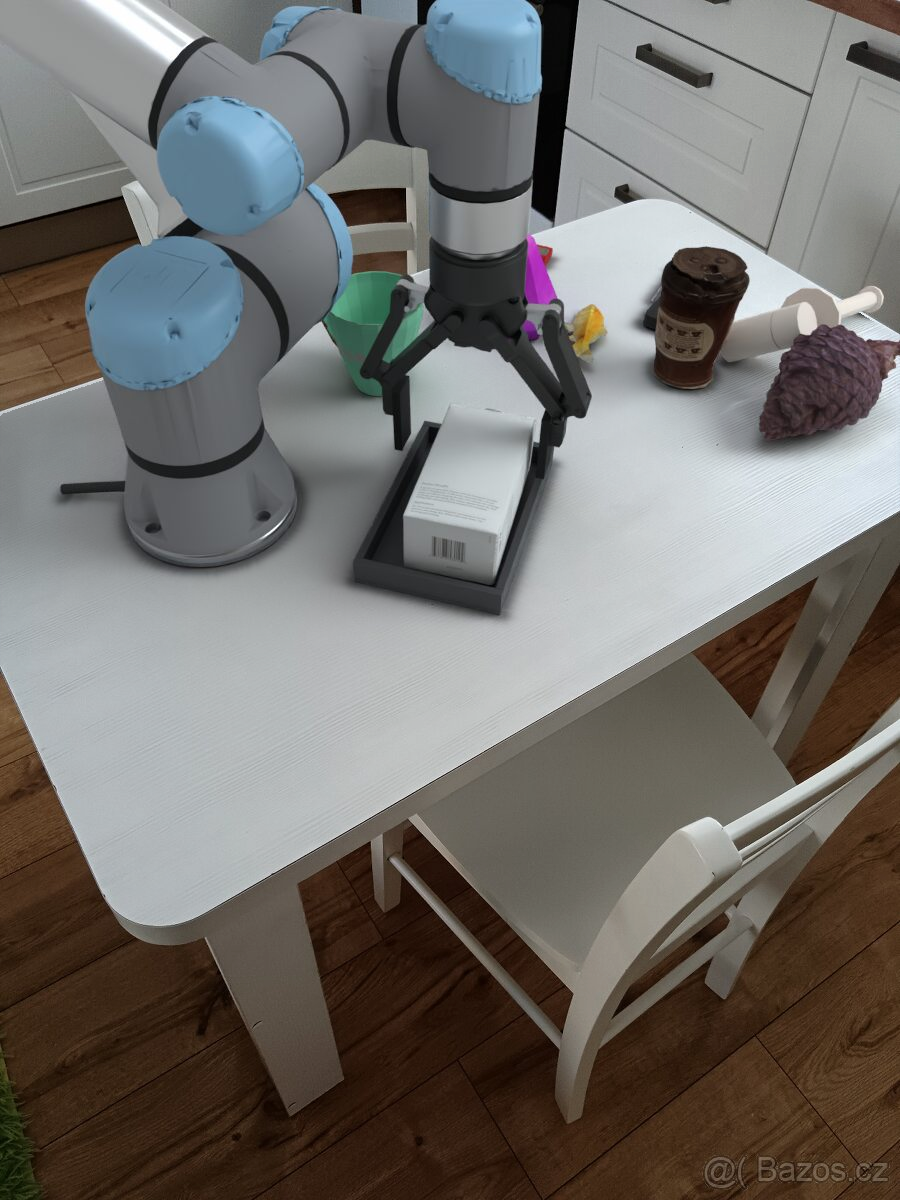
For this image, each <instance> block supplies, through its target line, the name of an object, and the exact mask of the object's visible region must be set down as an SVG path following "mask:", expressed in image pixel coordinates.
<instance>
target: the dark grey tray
mask: <svg viewBox="0 0 900 1200" xmlns="http://www.w3.org/2000/svg"><path fill="white" fill-rule="evenodd" d="M441 424H442V423H440V422H439V423H438V422H434V421H428V420H424V421H423V423H422V424H421V427H420V429H419V431H418V432H417V434H416V437H415V439H414V441H413V442H412V444H411V447H410V449H409V451H408V452H407V454H406V456H405V458H404V460H403V461H402V463H401V467H400V468H399V470H398V472H397V474H396V476H395V478H394V480H393V481H392V484H391V486H390V488H389V490H388V492H387V494H386V496H385V498H384V499H383V502H382V504H381V505H380V508H379V510H378V512H377V514H376V516H375V517H374V519H373V521H372V523H371V525H370V527H369V529H368V531H367V533H366V535H365V537H364V539H363V541H362V543H361V544H360V547H359V549H358V551H357V553H356V556H355V557H354V559H353V561H352V568H353V579H354V582H355V583H360V584H364V585H369V586H373V587H378V588H381V589H386V590H390V591H395V592H399V593H403V594H408V595H411V596H415V597H421V598H425V599H428V600H429V599H430V600H433V601H439V602H443V603H447V604H451V605H456V606H460V607H465V608H469V609H474V610H478V611H482V612H487V613H491V614H495V615H501V614H502V611H503V608H504V606H505V603H506V601H507V596H508V593H509V591H510V589H511V585H512V582H513V579H514V577H515V573H516V572H517V571H516V570H517V568H518V565H519V563H520V559H521V556H522V553H523V551H524V548H525V545H526V542H527V539H528V536H529V534H530V530H531V527H532V524H533V521H534V518H535V515H536V512H537V511H538V510H537V509H538V507H539V504H540V501H541V499H542V496H543V492H544V489H545V487H546V484H547V481H548V478H549V475H550V472H551V470H552V466H553V462H554V461H553V460H554V452H555V447H554V446H552V451H551V460H550V463H549V466H548V469H547V472H546V475H545V478H544V479H539V478H536V470H537V460H538V449H539V441H538V442H537V441H534V442H533V449H532V456H531V462H530V468H529V473H528V476H527V479H526V482H525V486H524V489H523V492H522V495H521V499H520V502H519V505H518V508H517V512H516V515H515V518H514V522H513V525H512V528H511V531H510V535H509V538H508V541H507V544H506V547H505V551H504V554H503V557H502V560H501V564H500V567H499V570H498V574H497V577H496V580H495V583H494V584H493V585H487V584H482V583H479V582H474V581H468V580H463V579H458V578H454V577H449V576H444V575H440V574H435V573H430V572H425V571H420V570H415V569H410V568H406V567H404V521H403V515H404V512H405V510H406V507H407V505H408V503H409V500H410V498H411V495H412V493H413V491H414V488H415V486H416V483H417V481H418V479H419V476H420V474H421V472H422V469H423V467H424V464H425V462H426V460H427V457H428V455H429V453H430V450H431V448H432V445H433V443H434V441H435V438H436V436H437V434H438V431H439V429H440V427H441Z"/></svg>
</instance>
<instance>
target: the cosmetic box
mask: <svg viewBox="0 0 900 1200" xmlns="http://www.w3.org/2000/svg"><path fill="white" fill-rule="evenodd" d="M440 424H441V427H440V429H439V431H438V434H437V436H436V438H435V441H434V443H433V445H432V448H431V450H430V453H429V455H428V457H427V460H426V462H425V464H424V467H423V469H422V472H421V474H420V476H419V479H418V481H417V483H416V486H415V488H414V491H413V493H412V495H411V498H410V500H409V503H408V505H407V507H406V510H405V512H404V515H403V521H404V567H406V568H410V569H415V570H420V571H425V572H430V573H435V574H440V575H444V576H449V577H454V578H458V579H463V580H468V581H474V582H479V583H482V584H487V585H493V584H494V583H495V580H496V577H497V574H498V570H499V567H500V564H501V560H502V557H503V554H504V551H505V547H506V544H507V541H508V538H509V535H510V531H511V528H512V525H513V522H514V518H515V515H516V512H517V508H518V505H519V502H520V499H521V495H522V492H523V489H524V486H525V482H526V479H527V476H528V473H529V468H530V462H531V456H532V449H533V442H535V437H536V436H535V434H536V427H537V419H536V418H535V417H531V416H525V415H524V416H523V415H519V414H513V413H508V412H503V411H501V410H499V409H497V408H491V407H488V408H478V407H474V406H473V407H472V406H467V405H461V404H456V403H449V405H448V408H447V409H446V412H445V415H444V417H443V420H442V422H441V423H440Z"/></svg>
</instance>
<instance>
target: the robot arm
mask: <svg viewBox="0 0 900 1200" xmlns="http://www.w3.org/2000/svg"><path fill="white" fill-rule="evenodd" d="M427 11H428V12H427V16H426V24H418V23H411V22H406V21H401V20H395V19H388V18H383V17H378V16H372V15H366V14H361V13H355V12H350V11H344V10H343V9H341V8H338V7H333V6H329V5H325V6H324V5H323V6H321V5H320V6H317V7H316V6H304V5H303V6H302V5H293V6H288V7H286V8H284V9H282V10H280V11H279V12H278V13H277V14H276V15H275V16H274V17H273V18H272V20H271V26H270V29H269V30H267V31H266V32H265V34H264V36H263V39H262V41H261V46H260V51H259V61H258V62H255V63H254V64H253V63H249V62H248V61H247V60H245V59H244V58H243V57H241V56H240V55H238V54H237V53H235V51H233V50H231V49H230V48H228V47H226V46H225V45H223V44H221V43H220V42H219V41H217V40H216V39H214V38H213V37H211V36H210V35H209V34H207V33H206V32H205V31H203V30H202V29H200V28H199V27H197V26H196V25H195V24H194V23H192V22H191V21H189V20H187V18H184V17H183V16H182V15H180V14H179V13H177V12H176V11H175V10H173V9H172V8H171V7H169V6H168V5H166V4H165V3H164V2H162V1H161V0H0V44H1V45H2V46H4V47H5V48H7V49H8V50H10V51H11V52H12V53H14V54H15V55H17V56H18V57H19V58H21V59H22V60H24V61H25V62H27V63H29V64H30V65H32V66H33V67H34V68H35V69H37V70H39V71H40V72H42V73H43V74H44V75H46V77H47V76H48V77H49V78H50V79H51V80H53V81H54V82H56V83H57V84H59V85H61V87H63V88H65V89H66V90H68V91H69V93H70V94H71V95H72V97H73V98H74V100H75V101H76V102H77V103H78V104H79V106H80V107H81V109H82V110H83V112H84V113H85V114H86V115H87V116H88V118H89V119H90V121H91V122H92V123H93V124H94V126H95V127H96V128H97V129H98V131H99V132H100V133H101V135H102V136H103V137H104V138H105V140H106V142H107V143H108V144H109V145H110V147H111V148H112V149H113V151H114V152H115V153H116V154H117V156H118V157H119V158H120V160H121V161H122V162H123V164H124V165H125V166H126V168H127V169H128V170H129V172H130V173H131V174H132V175H133V177H134V178H135V179H136V180H137V182H138V183H139V185H140V186H141V187H142V189H143V190H144V192H146V194H147V196H148V197H149V198H150V199H151V200H152V202H153V203H154V205H156V209H157V212H158V216H157V217H158V219H157V234H156V238H154V239H152V240H151V242H150V244H148V245H142V244H140V243H137V244H134V245H132V246H129V247H127V248H126V249H124V250H123V251H121V252H119V253H117V254H116V255H115V256H113V257H112V258H110V259H109V260H108V261H107V262H106V263H105V264H103V266H102V267H101V268H100V269H99V270H98V271H97V273H96V274H95V275H94V277H93V279H92V280H91V282H90V284H89V286H88V289H87V292H86V296H85V302H84V310H85V319H86V322H87V326H88V331H89V339H90V348H91V351H92V352H91V353H92V355H93V357H94V359H95V361H96V364H97V366H98V368H99V371H100V373H101V376H102V379H103V381H104V382H103V383H104V386H105V389H106V391H107V394H108V398H109V401H110V403H111V406H112V409H113V411H114V416H115V418H116V421H117V424H118V427H119V431H120V434H121V437H122V439H123V442H124V443H123V444H124V445H125V449H126V452H127V461H126V472H125V480H113V481H112V480H111V481H88V482H71V483H62V484H60V486H59V491H60V493H61V494H62V495H63V496H64V495H80V494H97V493H99V494H100V493H123V507H124V509H123V510H124V516H125V519H126V523H127V526H128V528H129V531H130V533H131V536H132V538H133V539H134V541H135V542H136V543H137V544H138V546H139V547H140V548H142V550H144V551H145V552H146V553H147V554H149V555H150V556H152V557H154V558H155V559H158V560H161V561H163V562H165V563H169V564H173V565H177V566H183V567H191V568H208V567H217V566H218V567H219V566H223V565H224V566H225V565H227V564H233V563H236V562H239V561H242V560H245V559H247V558H250V557H252V556H254V555H257V554H258V553H260V552H262V551H263V550H266V548H268V547H270V546H272V545H273V544H274V543H275V542H276V541H277V540H278V539H280V538H281V536H283V534H284V533H285V532H286V531H287V530H288V528H289V527H290V525H291V524H292V522H293V519H294V517H295V515H296V512H297V509H298V508H297V506H298V495H297V488H296V482H295V478H294V475H293V473H292V471H291V467H290V466H289V464H288V463H287V461H286V460H285V458H284V457H283V455H282V453H281V452H280V450H279V448H278V447H277V445H276V443H275V441H274V440H273V439H272V437H271V435H270V433H269V432H268V430H267V428H266V427H265V423H264V422H265V421H264V417H263V411H262V410H263V409H262V404H261V397H260V393H259V387H260V383H261V381H262V379H263V378H264V377H265V376H266V375H267V374H268V373H269V372H271V370H273V368H274V367H275V366H276V365H277V364H278V363H279V362H281V360H282V359H283V358H284V357H285V356H286V355H287V354H288V353H289V352H290V351H291V350H292V349H293V348H294V347H295V346H296V344H297V343H298V342H299V341H300V340H301V339H302V338H304V336H306V334H308V333H309V332H310V330H312V329H313V327H314V326H316V325H317V324H319V323H322V321H323V320H324V319H325V318H326V317H327V316H328V314H329V313H330V311H331V310H332V309H333V307H334V305H335V303H336V302H337V301H338V299H339V298H340V297H341V296H342V294H343V293H344V291H345V290H346V288H347V286H348V283H349V281H350V277H351V275H352V270H353V269H352V268H353V262H354V250H353V243H352V239H351V234H350V231H349V228H348V225H347V223H346V221H345V219H344V216H343V214H342V213H341V211H340V209H339V207H337V204H336V203H335V202H334V201H333V199H332V198H331V197H330V196H329V195H328V194H327V193H326V191H324V190H323V189H322V188H320V186H318V185H317V184H315V181H316V180H318V179H319V178H320V177H321V176H323V175H324V174H325V173H326V172H328V171H330V170H331V169H332V168H334V167H335V166H336V165H338V164H339V163H340V162H341V161H342V160H344V158H347V156H349V154H351V153H352V152H354V151H355V150H356V149H357V148H358V147H359V146H360V145H362V143H364V142H365V141H376V142H381V143H387V144H392V145H396V146H400V147H401V146H402V147H405V148H413V149H415V148H417V149H422V150H425V151H426V154H427V166H428V232H429V234H430V238H429V241H428V254H429V255H428V257H429V258H428V260H429V263H428V270H429V271H428V272H429V286H426V285H422V284H419V283H416V282H415V279H414V278H413V276H411V275H410V274H406V273H404V274H401V275H402V276H401V278H400V279H399V281H398V283H397V284H396V286H395V287H394V289H393V290H392V292H391V299H390V313H389V315H388V317H387V318H386V320H385V322H384V324H383V326H382V328H381V330H380V332H379V334H378V336H377V338H376V340H375V342H374V344H373V346H372V348H371V349H370V351H369V353H368V355H367V357H366V359H365V361H364V363H363V365H362V367H361V369H360V375H361V376H362V377H363V378H364V379H371V378H373V379H375V380H376V381H378V382H379V383H380V385H381V387H382V396H381V399H382V400H381V401H382V402H381V403H382V410H383V413H384V415H386V416H391V417H392V426H393V430H392V431H393V447H394V448H393V449H394V451H399V452H403V450H404V448H405V447H406V445H407V442H408V441H409V439H410V437H411V435H412V416H411V415H412V413H411V382H410V379H411V378H410V375H408V373H409V372H410V371H411V370H412V369H414V367H415V366H416V365H418V364H419V363H420V362H421V361H422V360H423V359H424V358H426V357H427V356H428V354H430V353H431V352H432V351H433V350H435V349H437V348H438V347H439V346H441V344H442V343H443V342H445V341H446V340H447V339H448V341H450V342H451V343H453V346H454V347H459V348H474V349H476V350H479V351H482V352H486V353H487V352H488V353H491V352H492V350H495V351H496V352H497V353H498V354H499V355H500V357H501V358H502V359H503V361H504V362H506V363H509V364H510V365H511V366H512V367H513V368H514V370H515V371H516V372H517V374H518V375H519V377H520V378H521V379H522V380H523V383H525V384H526V386H527V388H528V389H529V390H530V391H531V392H532V393H533V395H534V397H535V398H536V399H537V401H539V403H540V404H541V406H542V407H543V408H544V412H543V414H542V417H541V421H540V430H539V441H538V443H539V449H538V460H537V470H536V478H539V479H544V478H545V475H546V472H547V469H548V466H549V463H550V460H551V451H552V446H554V448H560V447H561V446H562V444H563V442H564V440H565V437H566V432H567V424H568V418H570V417H575V418H576V419H579V420H581V419H584V418H585V417H586V416H587V413H588V412H589V411H588V410H589V408H590V405H591V402H592V398H593V395H592V392H591V389H590V387H589V384H588V382H587V380H586V377H585V374H584V371H583V369H582V367H581V364H580V362H579V358H578V357H577V356H576V354H575V351H574V349H573V343H571V341H570V338H569V336H570V335H569V332H567V331H566V328H565V326H564V321H565V304H564V301H562V300H561V299H559V298H558V297H557V298H558V299H557V298H556V299H552V300H551V301H550V303H549V305H545V304H531V303H529V302H528V300H527V298H526V295H525V281H526V267H527V254H528V241H527V239H526V238H527V235H528V233H529V234H530V225H531V212H532V211H531V209H532V196H533V183H534V179H533V178H534V177H533V176H534V162H535V148H536V140H537V139H536V138H537V126H538V118H539V117H538V115H539V106H540V105H539V104H540V96H541V95H540V94H541V92H542V88H543V87H542V84H543V76H542V71H541V70H542V67H541V65H542V24H541V19H540V16H539V14H538V12H537V10H536V9H535V8H534V7H533V5H532V4H531V3H530V2H528V1H527V0H435V1H434V2H433V3H432V5H431V6H430V7H429V9H428V10H427ZM414 282H415V283H416V284H415V283H414ZM420 303H424V307H425V309H426V310H427V311H428V313H429V315H430V316H431V318H432V319H433V321H432V322H431V323H430V324H429V325H428V326H427V327H426V328H425V329H424V330H423V331H421V333H420V334H418V337H417V338H416V339H415V340H414V341H412V342H411V343H410V344H409V345H408V346H407V347H406V348H405V349H404V350H403V351H402V352H401V353H400V354H399V355H398V356H397V357H396V358H395V359H394V360H393V359H392V360H391V362H390V363H388V362H386V361H384V360H382V359H383V357H384V355H385V354H386V352H387V350H388V348H389V346H390V344H391V342H392V341H393V339H394V337H395V335H396V333H397V331H398V329H399V327H400V326H401V324H402V322H403V320H404V318H405V316H406V314H407V313H408V312H410V311H414V310H415V309H416V307H417V306H418V304H420ZM526 320H527V321H530V322H532V323H533V324H534V326H535V329H536V331H537V334H539V335H540V336H542V341H543V345H544V348H545V351H546V353H547V356H548V358H549V360H550V363H551V365H552V368H553V370H554V372H555V374H554V373H553V371H552V370H551V368H549V366H548V365H547V363H546V362H545V361H544V359H543V358H542V356H541V354H539V352H538V351H537V350H536V349H535V347H534V345H533V344H532V343H531V341H530V340H529V339H528V335H527V332H526V331H525V329H524V328H523V327H522V325H523V324H524V323H525V321H526ZM509 338H510V340H509Z"/></svg>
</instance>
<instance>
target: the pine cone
mask: <svg viewBox="0 0 900 1200" xmlns="http://www.w3.org/2000/svg"><path fill="white" fill-rule="evenodd" d="M793 344H794V345H792V346H791V348H789V350H787V351H785V352H782V354H781V356H780V361H779V363H778V370H779V373H777V375H775V376H774V378H773V382H772V383H771V385H770V389H768V391H767V392H766V394H765V397H766V400H765V402H764V403H763V406H762V409H763V412H762V413H761V414H760V415H759V417H758V420H759V423H758V430H759V431H760V432H761V433H764V436H763V437H764V440H765V441H767V442H769V441H772V440H774V441H775V440H779V439H781V438H787V437H788V436H790V437H797V436H799V435H805V436H811V435H812V434H813V433H816V432H817V431H818V430H819V431H827V432H829V431H831V430H832V431H833V430H837V431H842V429H843V428H845V427H847V426H855V425H856V424H858V422H859V420H863V419H867V418H868V416H869V415H870V413H871V412H870V411H871V410H872V408H874V406H876V404H877V402H878V400H879V399H880V394H881V393H882V389H883V388H882V387H883V381H884V380H887V379H888V378H889V374H888V373H889V372H891V371H892V370H896V368H897V363H896V361H895V360H896V358H897V356H899V357H900V339H899V341H893V340H889V339H872V338H868V339H866V340H865V339H864V338H863V337H861V336H859V335H857V333H856V332H855V331H854V330H850V329H848V327H846V326H845V325H844V324H841V325H837V326H835V327H833V328H830V327H829V326H828V325H825V324H822V325H820V326H818V327H817V328H816V329H815V330H813V331H812V333H811V335H804V334H799V335H798V336H797V337H796V338H795V339H794V340H793Z"/></svg>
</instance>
